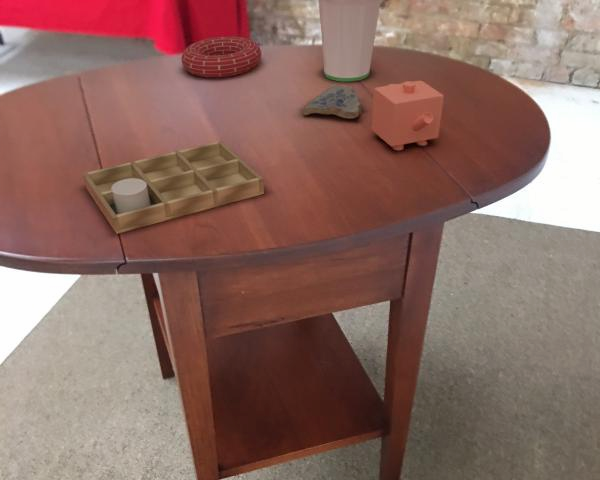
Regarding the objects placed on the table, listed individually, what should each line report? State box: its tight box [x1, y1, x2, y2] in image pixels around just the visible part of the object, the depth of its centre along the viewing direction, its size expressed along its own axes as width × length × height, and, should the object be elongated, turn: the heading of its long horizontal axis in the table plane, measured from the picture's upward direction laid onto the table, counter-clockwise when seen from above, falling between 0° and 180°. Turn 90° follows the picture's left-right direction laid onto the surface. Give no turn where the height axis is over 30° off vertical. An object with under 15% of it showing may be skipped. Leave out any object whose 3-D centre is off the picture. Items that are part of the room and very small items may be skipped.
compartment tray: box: [82, 140, 265, 235], centre depth 85 cm, size 20×14×2 cm
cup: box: [318, 0, 381, 83], centre depth 112 cm, size 12×12×15 cm
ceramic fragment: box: [302, 84, 363, 119], centre depth 104 cm, size 11×3×10 cm
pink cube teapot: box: [371, 80, 445, 151], centre depth 93 cm, size 8×12×8 cm, turn 21°
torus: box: [181, 36, 262, 78], centre depth 120 cm, size 16×14×4 cm
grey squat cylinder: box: [111, 178, 151, 214], centre depth 80 cm, size 4×4×3 cm
